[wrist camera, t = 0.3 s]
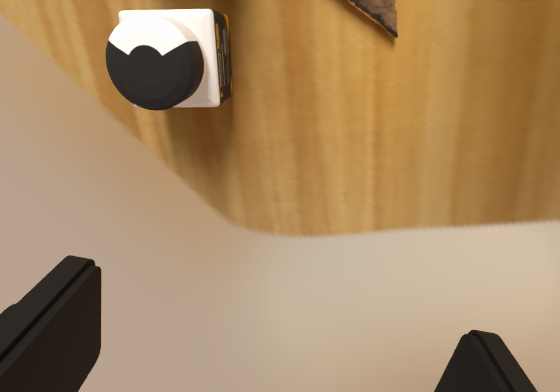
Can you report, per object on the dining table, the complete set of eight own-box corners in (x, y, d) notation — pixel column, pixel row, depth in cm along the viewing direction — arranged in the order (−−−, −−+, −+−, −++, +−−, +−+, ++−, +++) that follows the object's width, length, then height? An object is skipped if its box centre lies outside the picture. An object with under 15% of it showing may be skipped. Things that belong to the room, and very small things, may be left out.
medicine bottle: (233, 94, 37) (205, 120, 26) (161, 95, 37) (103, 120, 26) (228, 13, 34) (195, 2, 23) (150, 15, 34) (80, 5, 23)
